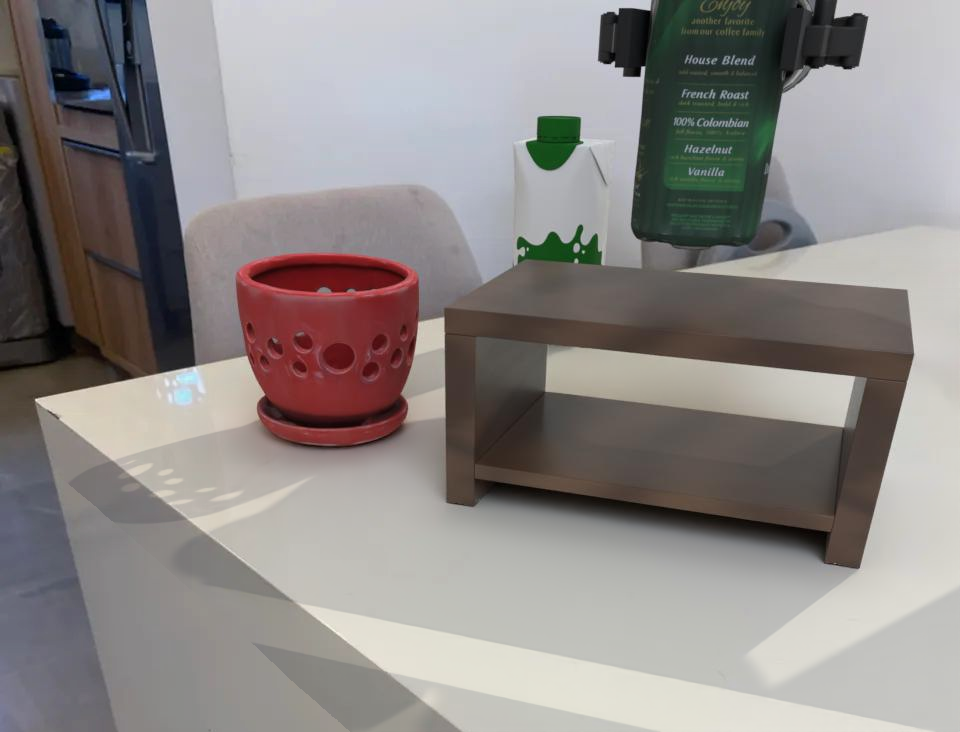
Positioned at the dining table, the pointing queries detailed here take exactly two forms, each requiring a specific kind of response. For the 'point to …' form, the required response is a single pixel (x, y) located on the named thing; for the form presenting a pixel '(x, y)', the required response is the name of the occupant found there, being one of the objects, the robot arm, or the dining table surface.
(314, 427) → the flower pot
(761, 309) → the shelf
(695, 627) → the dining table surface
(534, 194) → the milk carton
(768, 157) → the coffee jar
